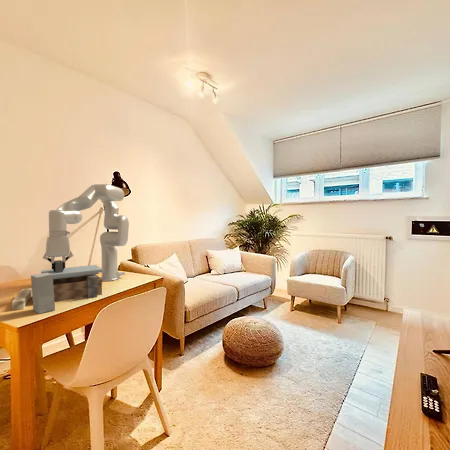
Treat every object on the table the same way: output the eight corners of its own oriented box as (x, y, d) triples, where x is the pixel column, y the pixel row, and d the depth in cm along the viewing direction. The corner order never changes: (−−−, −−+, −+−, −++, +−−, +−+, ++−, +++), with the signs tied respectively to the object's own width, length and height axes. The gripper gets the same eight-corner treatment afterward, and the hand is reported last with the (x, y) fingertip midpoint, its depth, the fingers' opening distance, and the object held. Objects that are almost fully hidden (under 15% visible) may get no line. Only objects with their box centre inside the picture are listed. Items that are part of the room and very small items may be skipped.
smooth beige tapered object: (31, 295, 135) (31, 288, 135) (23, 309, 115) (23, 300, 114) (22, 296, 133) (22, 289, 133) (12, 311, 113) (11, 302, 113)
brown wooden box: (94, 286, 153) (94, 268, 153) (103, 296, 135) (103, 275, 135) (40, 293, 137) (40, 274, 137) (42, 305, 119) (42, 282, 119)
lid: (96, 269, 151) (96, 256, 150) (102, 274, 138) (102, 260, 138) (41, 275, 135) (41, 260, 135) (42, 281, 122) (42, 265, 122)
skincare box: (55, 310, 113) (55, 274, 113) (35, 314, 108) (35, 276, 107) (49, 306, 119) (49, 271, 118) (30, 310, 113) (30, 273, 113)
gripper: (75, 233, 140) (75, 267, 141) (37, 234, 130) (38, 270, 131) (77, 234, 134) (77, 269, 135) (38, 235, 124) (39, 273, 125)
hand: (58, 269), depth 133 cm, fingers closed on lid, 3 cm apart
